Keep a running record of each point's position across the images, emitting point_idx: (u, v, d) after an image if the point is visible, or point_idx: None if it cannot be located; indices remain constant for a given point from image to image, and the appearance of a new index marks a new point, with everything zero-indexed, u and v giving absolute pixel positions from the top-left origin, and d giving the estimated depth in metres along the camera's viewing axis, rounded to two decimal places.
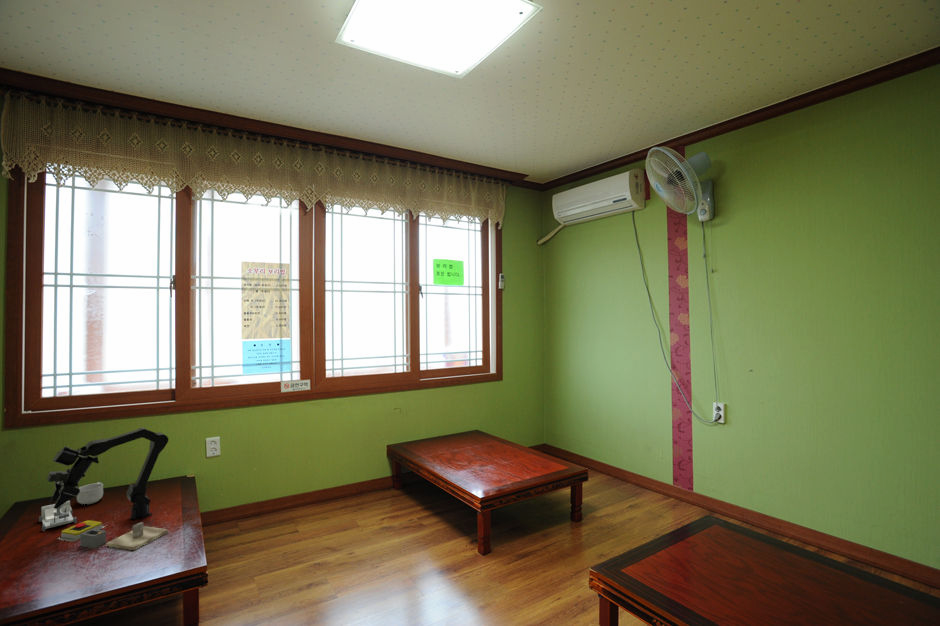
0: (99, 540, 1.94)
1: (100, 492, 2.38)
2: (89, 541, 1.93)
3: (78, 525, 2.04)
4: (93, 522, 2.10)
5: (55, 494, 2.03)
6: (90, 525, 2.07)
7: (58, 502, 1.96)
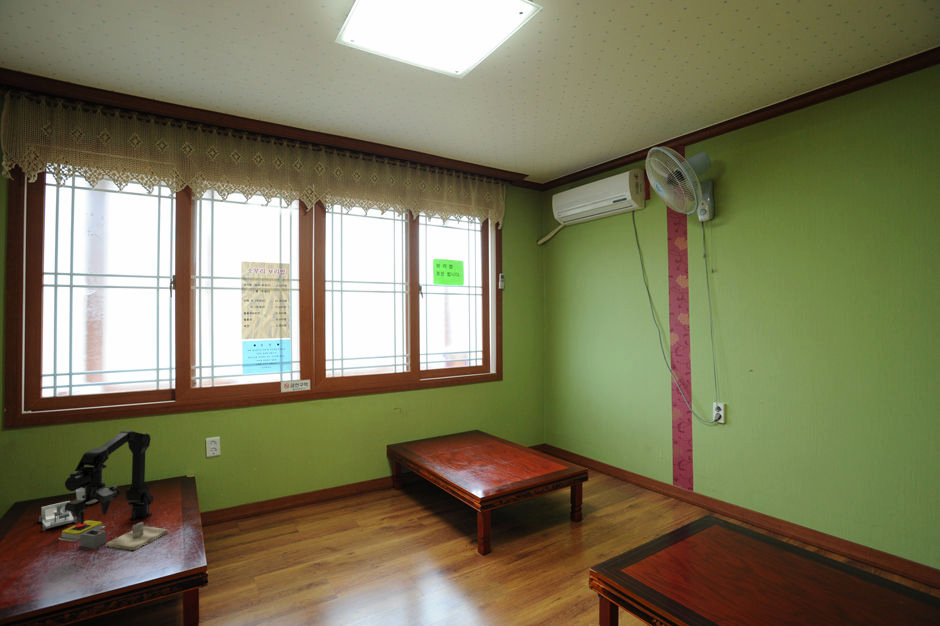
0: (99, 540, 1.94)
1: None
2: (89, 541, 1.93)
3: (78, 525, 2.04)
4: (93, 522, 2.10)
5: None
6: (90, 525, 2.07)
7: None
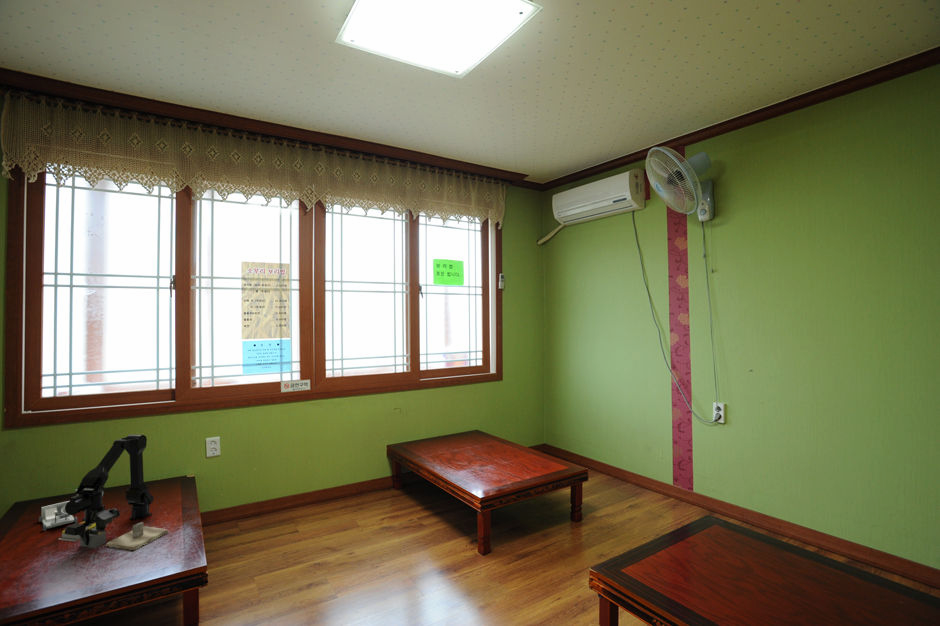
0: (99, 540, 1.94)
1: None
2: (89, 541, 1.93)
3: None
4: None
5: None
6: (91, 525, 2.07)
7: None
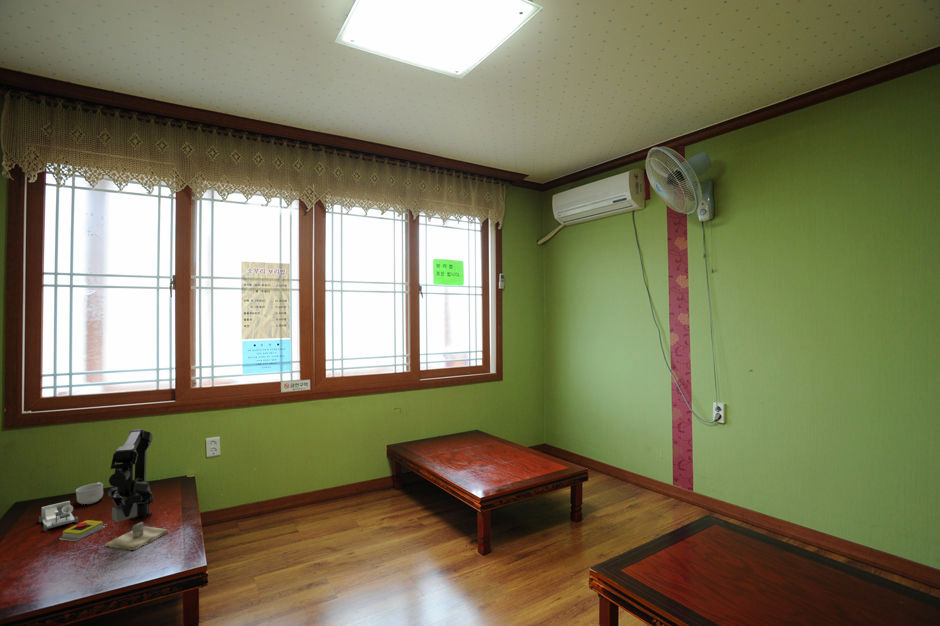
0: None
1: (100, 492, 2.38)
2: (130, 512, 1.98)
3: (79, 525, 2.04)
4: (94, 522, 2.10)
5: None
6: (91, 524, 2.07)
7: None
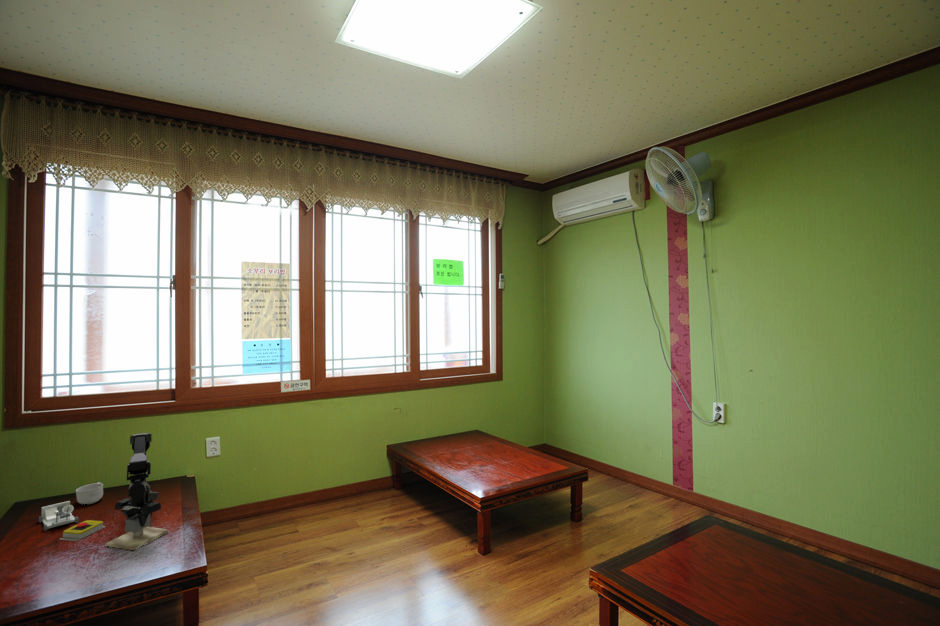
0: None
1: (100, 492, 2.38)
2: None
3: (80, 525, 2.04)
4: (94, 521, 2.10)
5: None
6: (92, 524, 2.07)
7: None
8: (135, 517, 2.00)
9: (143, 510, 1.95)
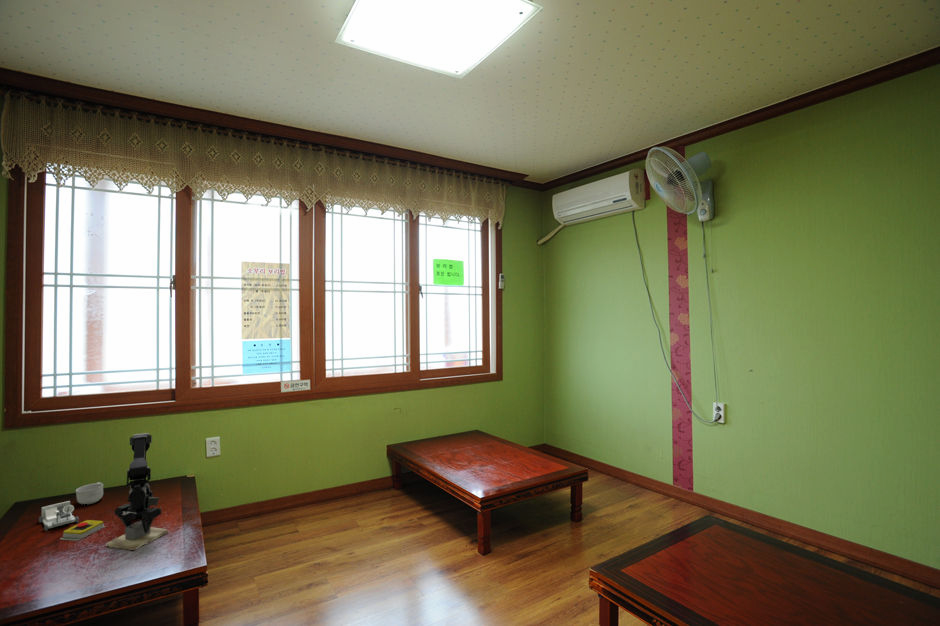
0: None
1: (100, 492, 2.38)
2: None
3: (80, 525, 2.04)
4: (94, 521, 2.10)
5: None
6: (92, 524, 2.08)
7: None
8: None
9: (143, 516, 1.95)
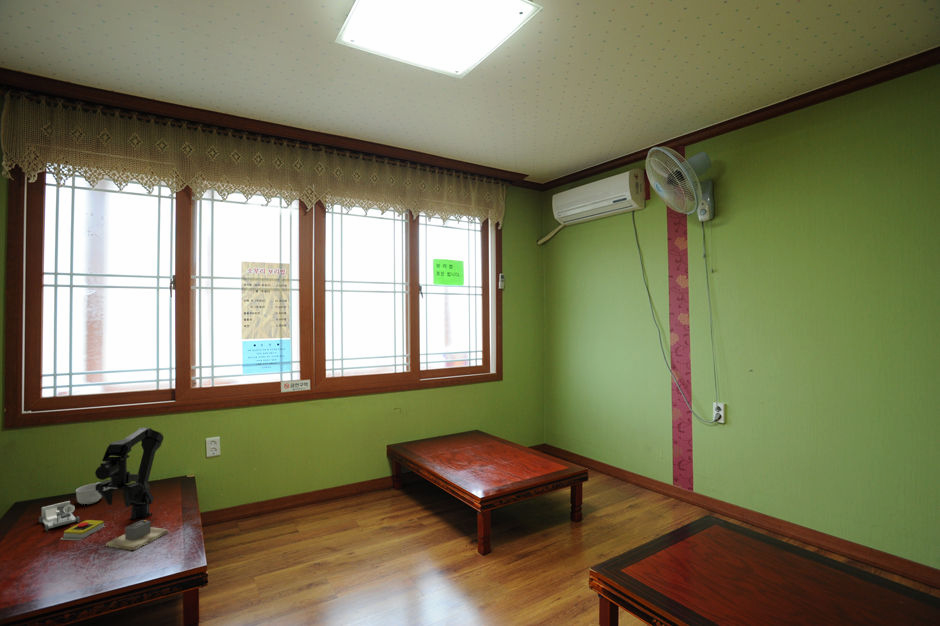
0: None
1: None
2: (144, 529, 2.00)
3: (81, 524, 2.05)
4: (94, 521, 2.10)
5: None
6: (92, 524, 2.08)
7: None
8: None
9: (124, 490, 2.02)
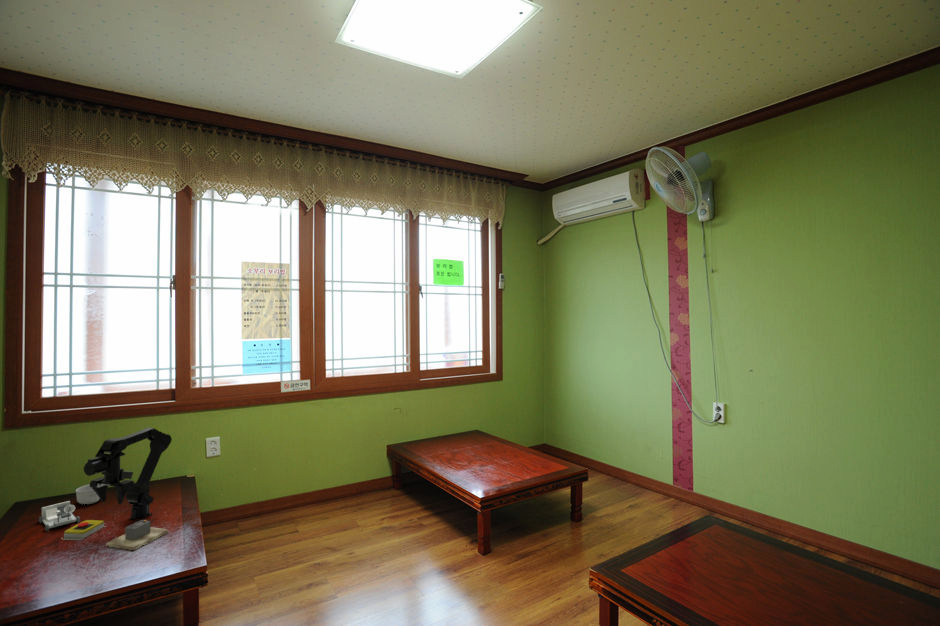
0: None
1: None
2: (144, 529, 2.00)
3: (81, 524, 2.05)
4: (94, 521, 2.10)
5: None
6: (93, 524, 2.08)
7: None
8: None
9: (116, 487, 2.04)
